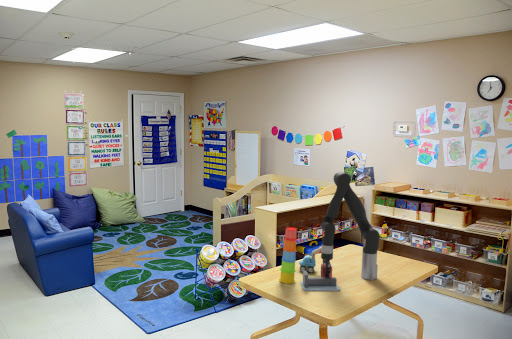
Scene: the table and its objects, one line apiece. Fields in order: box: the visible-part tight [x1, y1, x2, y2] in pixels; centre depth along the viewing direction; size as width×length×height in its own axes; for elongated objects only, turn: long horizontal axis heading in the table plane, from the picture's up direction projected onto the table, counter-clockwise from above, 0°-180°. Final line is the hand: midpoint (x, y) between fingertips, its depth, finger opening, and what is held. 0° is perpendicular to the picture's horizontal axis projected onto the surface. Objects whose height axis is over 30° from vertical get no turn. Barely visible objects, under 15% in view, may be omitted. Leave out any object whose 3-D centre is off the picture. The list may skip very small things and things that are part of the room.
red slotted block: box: [320, 263, 333, 277], centre depth 258 cm, size 6×6×9 cm
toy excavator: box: [298, 246, 322, 274], centre depth 272 cm, size 9×17×17 cm, turn 78°
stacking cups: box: [278, 226, 298, 285], centre depth 251 cm, size 10×10×35 cm
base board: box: [299, 281, 341, 292], centre depth 245 cm, size 22×12×1 cm, turn 93°
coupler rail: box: [302, 270, 337, 288], centre depth 245 cm, size 20×7×8 cm, turn 93°
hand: (326, 276), depth 258 cm, fingers closed on red slotted block, 6 cm apart
